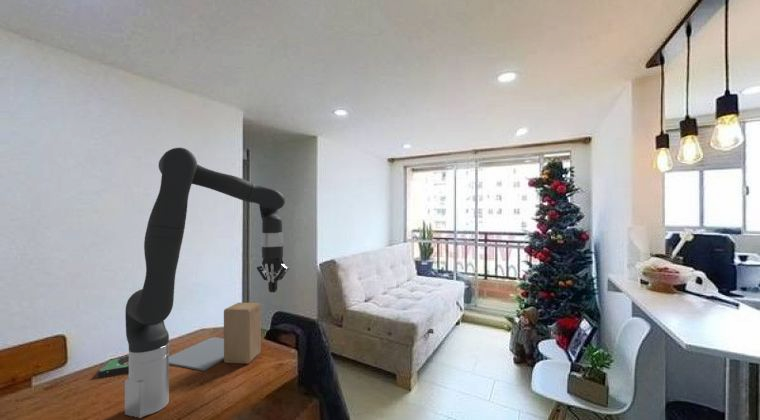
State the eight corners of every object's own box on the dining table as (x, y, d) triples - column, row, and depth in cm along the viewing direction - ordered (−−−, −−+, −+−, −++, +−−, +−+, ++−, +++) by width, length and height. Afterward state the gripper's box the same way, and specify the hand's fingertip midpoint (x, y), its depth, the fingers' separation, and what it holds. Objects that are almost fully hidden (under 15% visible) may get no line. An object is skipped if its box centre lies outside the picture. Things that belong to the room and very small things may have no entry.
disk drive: (157, 359, 121) (109, 366, 115) (157, 351, 121) (109, 358, 116) (149, 371, 111) (96, 379, 106) (149, 363, 112) (96, 371, 106)
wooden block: (261, 352, 124) (261, 302, 124) (248, 364, 114) (248, 309, 114) (237, 352, 125) (237, 301, 125) (222, 363, 115) (222, 309, 115)
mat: (204, 370, 110) (204, 369, 110) (159, 362, 117) (159, 360, 117) (252, 344, 132) (252, 342, 132) (212, 338, 139) (212, 337, 139)
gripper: (250, 245, 114) (251, 293, 114) (281, 246, 110) (281, 295, 110) (264, 243, 121) (264, 288, 121) (293, 244, 117) (294, 290, 117)
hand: (273, 291), depth 115 cm, fingers closed
